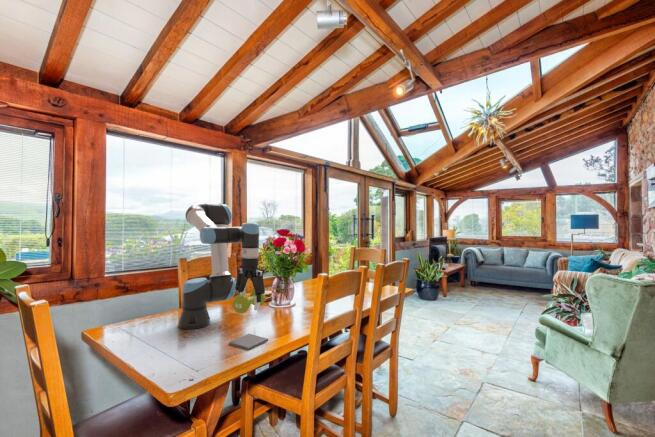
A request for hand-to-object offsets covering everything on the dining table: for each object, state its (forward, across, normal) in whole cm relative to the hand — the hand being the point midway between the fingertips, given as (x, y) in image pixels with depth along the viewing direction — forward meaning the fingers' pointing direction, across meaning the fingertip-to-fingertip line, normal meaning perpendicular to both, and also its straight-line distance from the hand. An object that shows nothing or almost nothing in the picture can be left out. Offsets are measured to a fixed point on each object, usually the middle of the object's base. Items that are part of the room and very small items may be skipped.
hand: (249, 307), depth 141 cm
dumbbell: (+1, 0, 0) cm, 1 cm away
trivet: (+15, 0, 0) cm, 15 cm away
